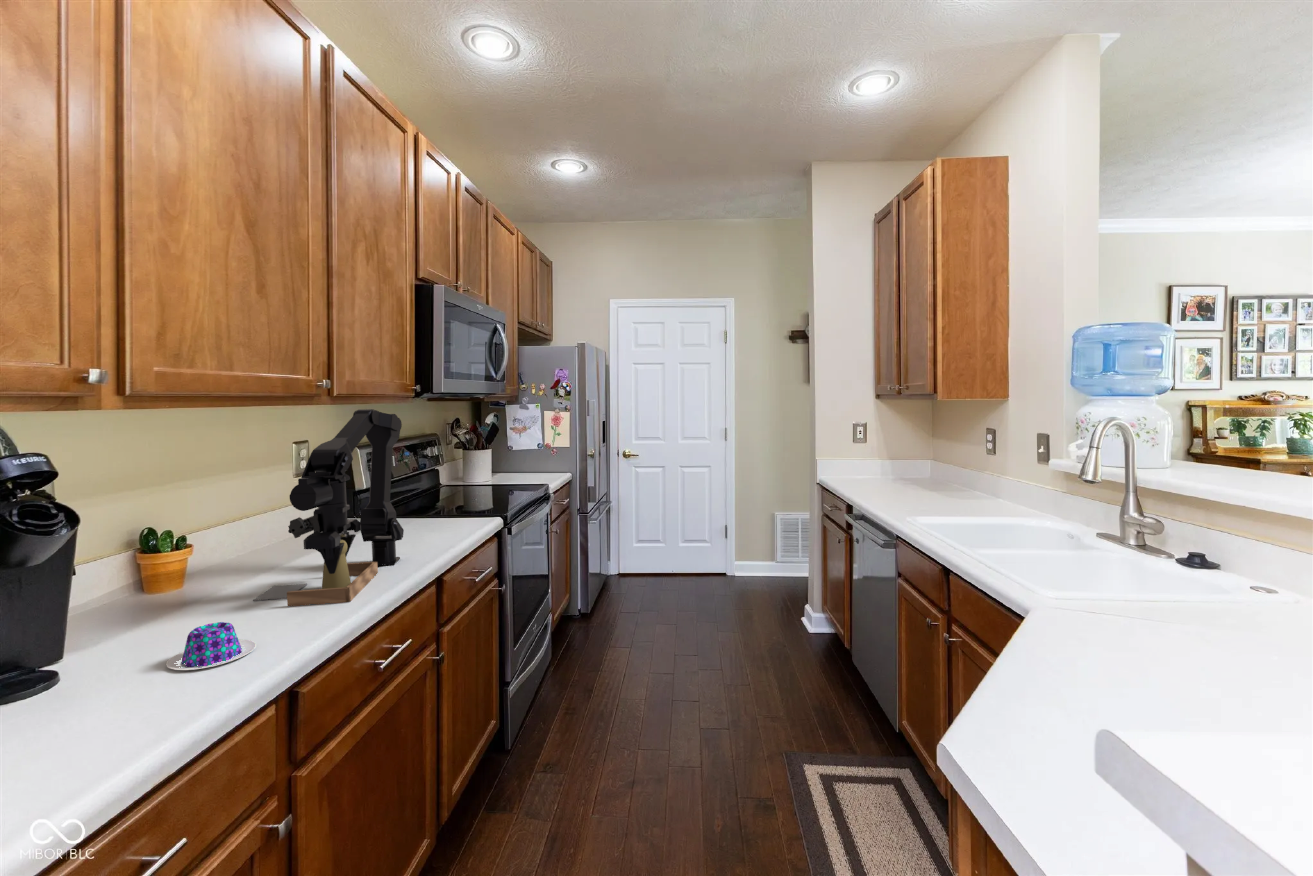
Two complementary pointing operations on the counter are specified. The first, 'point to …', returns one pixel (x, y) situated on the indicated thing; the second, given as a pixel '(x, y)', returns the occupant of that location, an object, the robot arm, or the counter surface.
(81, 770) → the counter surface
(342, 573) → the cork
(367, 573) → the wooden u-shaped frame
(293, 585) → the grey mat
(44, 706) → the counter surface
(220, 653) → the patterned hat
